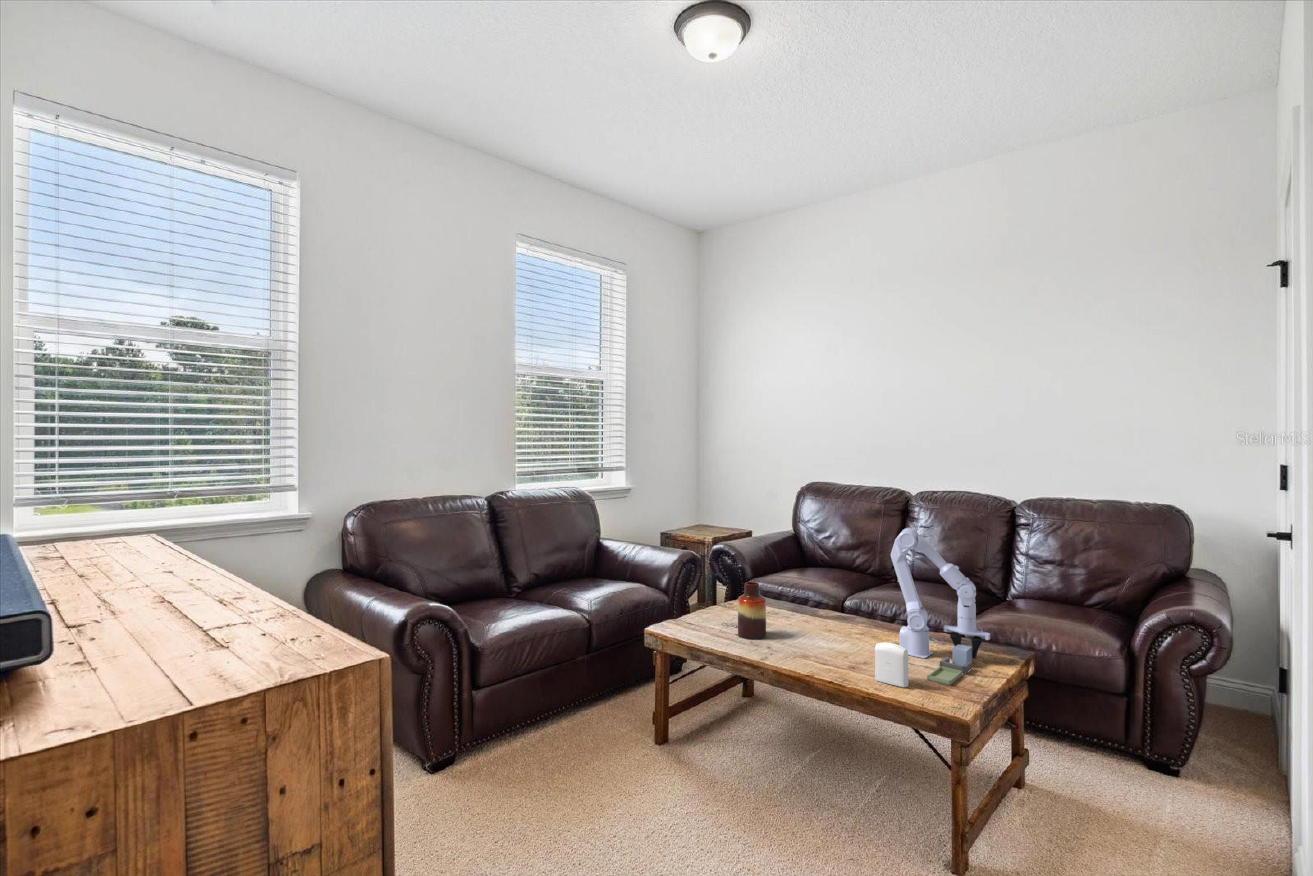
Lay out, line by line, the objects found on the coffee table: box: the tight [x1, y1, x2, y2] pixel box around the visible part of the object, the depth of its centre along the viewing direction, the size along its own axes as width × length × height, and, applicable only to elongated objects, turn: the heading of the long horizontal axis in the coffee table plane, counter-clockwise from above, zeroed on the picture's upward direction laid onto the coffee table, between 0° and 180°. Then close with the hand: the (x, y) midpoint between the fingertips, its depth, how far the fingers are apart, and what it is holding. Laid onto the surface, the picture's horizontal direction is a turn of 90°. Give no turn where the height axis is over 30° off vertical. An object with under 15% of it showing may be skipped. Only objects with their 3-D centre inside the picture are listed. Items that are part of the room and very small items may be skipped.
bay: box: [939, 656, 972, 675], centre depth 218 cm, size 8×6×2 cm
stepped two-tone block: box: [951, 643, 973, 666], centre depth 224 cm, size 4×9×6 cm, turn 138°
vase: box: [737, 581, 767, 641], centre depth 255 cm, size 11×11×20 cm
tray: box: [926, 665, 963, 687], centre depth 210 cm, size 7×12×2 cm, turn 138°
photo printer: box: [874, 641, 909, 688], centre depth 206 cm, size 10×4×12 cm, turn 47°
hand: (966, 656), depth 226 cm, fingers closed on stepped two-tone block, 4 cm apart
